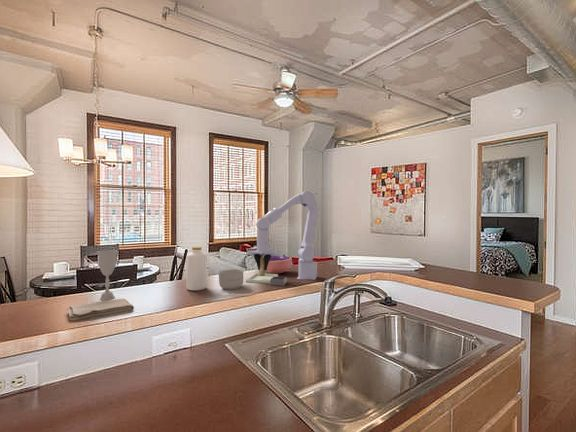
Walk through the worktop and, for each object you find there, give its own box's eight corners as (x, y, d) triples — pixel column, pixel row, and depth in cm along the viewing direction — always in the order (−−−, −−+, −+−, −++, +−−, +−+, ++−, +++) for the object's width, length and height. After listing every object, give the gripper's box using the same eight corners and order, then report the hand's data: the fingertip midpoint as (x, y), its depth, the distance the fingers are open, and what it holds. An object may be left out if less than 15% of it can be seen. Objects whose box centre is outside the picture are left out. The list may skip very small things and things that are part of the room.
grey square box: (286, 283, 145) (286, 277, 145) (283, 287, 139) (283, 279, 139) (273, 283, 146) (273, 276, 146) (270, 286, 140) (270, 279, 140)
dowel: (265, 275, 153) (265, 257, 153) (264, 276, 151) (264, 257, 150) (260, 275, 153) (260, 256, 153) (259, 276, 151) (259, 257, 151)
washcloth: (66, 313, 102) (66, 304, 102) (126, 303, 113) (126, 295, 113) (69, 324, 93) (69, 313, 93) (134, 312, 104) (134, 303, 104)
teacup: (230, 293, 127) (230, 274, 127) (212, 289, 134) (212, 270, 134) (253, 287, 138) (253, 269, 138) (236, 283, 145) (236, 266, 145)
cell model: (298, 272, 174) (299, 252, 174) (279, 278, 157) (279, 256, 157) (274, 269, 183) (274, 249, 183) (252, 274, 166) (253, 253, 166)
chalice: (107, 301, 115) (107, 252, 114) (91, 300, 116) (92, 252, 116) (122, 296, 122) (122, 250, 122) (107, 295, 123) (107, 249, 123)
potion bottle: (182, 289, 133) (182, 247, 132) (196, 285, 140) (196, 246, 140) (196, 292, 129) (196, 248, 128) (210, 288, 136) (210, 247, 136)
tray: (278, 277, 159) (278, 274, 159) (270, 284, 143) (270, 280, 143) (255, 276, 161) (255, 273, 161) (245, 283, 146) (245, 279, 146)
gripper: (245, 242, 150) (245, 270, 150) (275, 243, 147) (274, 272, 147) (250, 241, 156) (250, 268, 157) (278, 242, 154) (278, 269, 154)
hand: (262, 269), depth 152 cm, fingers closed on dowel, 3 cm apart
